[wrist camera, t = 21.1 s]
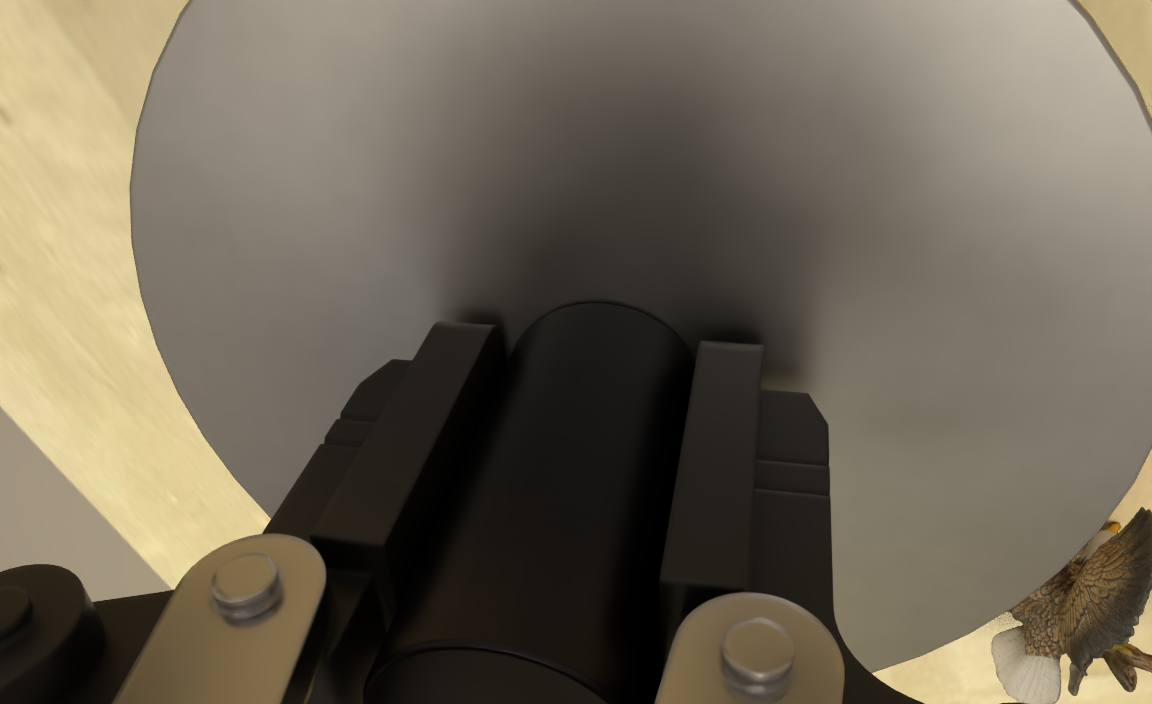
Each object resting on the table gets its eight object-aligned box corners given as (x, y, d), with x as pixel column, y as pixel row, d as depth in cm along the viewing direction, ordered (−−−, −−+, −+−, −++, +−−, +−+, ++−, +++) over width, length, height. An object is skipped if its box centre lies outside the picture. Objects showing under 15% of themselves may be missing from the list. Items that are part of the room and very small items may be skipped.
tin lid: (295, 589, 17) (98, 936, 12) (28, -191, 10) (-702, -85, 5) (1017, 686, 14) (1118, 1164, 10) (1368, -255, 7) (2379, -160, 3)
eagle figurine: (1237, 598, 34) (1200, 460, 29) (1177, 776, 31) (1125, 659, 26) (1028, 542, 40) (966, 419, 35) (963, 689, 37) (886, 579, 32)
